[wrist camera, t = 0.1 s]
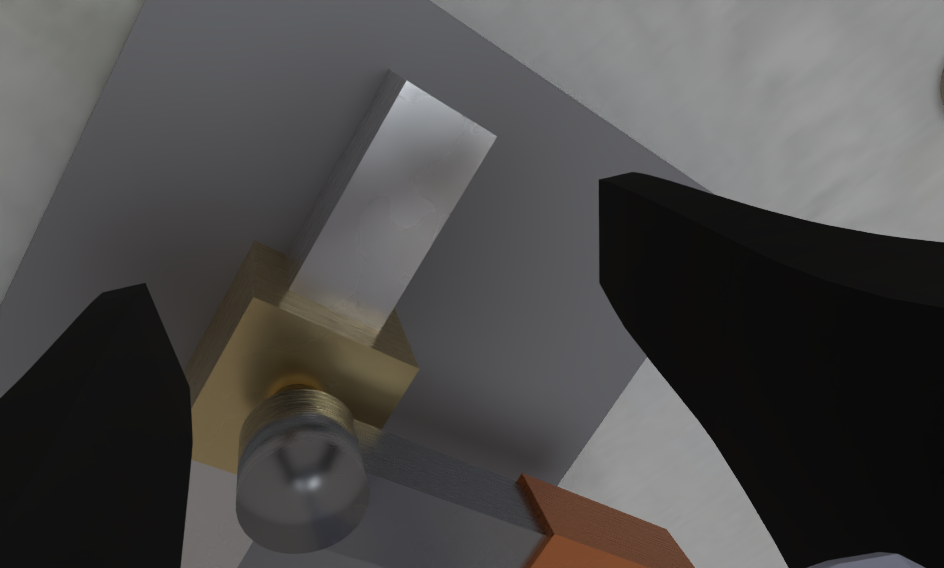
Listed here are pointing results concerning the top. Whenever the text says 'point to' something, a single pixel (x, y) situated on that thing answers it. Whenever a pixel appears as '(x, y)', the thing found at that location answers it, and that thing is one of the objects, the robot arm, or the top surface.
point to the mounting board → (297, 187)
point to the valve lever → (415, 500)
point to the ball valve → (327, 298)
